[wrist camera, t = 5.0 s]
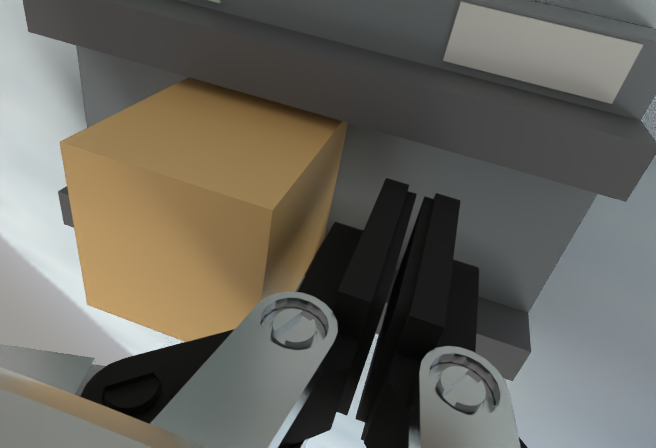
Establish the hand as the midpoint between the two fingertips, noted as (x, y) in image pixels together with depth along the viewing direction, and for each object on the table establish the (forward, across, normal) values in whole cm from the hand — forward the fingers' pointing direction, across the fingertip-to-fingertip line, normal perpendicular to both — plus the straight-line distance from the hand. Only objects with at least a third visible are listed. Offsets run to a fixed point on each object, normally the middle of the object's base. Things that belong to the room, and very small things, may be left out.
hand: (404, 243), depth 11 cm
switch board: (+4, +3, 0) cm, 5 cm away
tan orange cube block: (+2, +4, 0) cm, 5 cm away
